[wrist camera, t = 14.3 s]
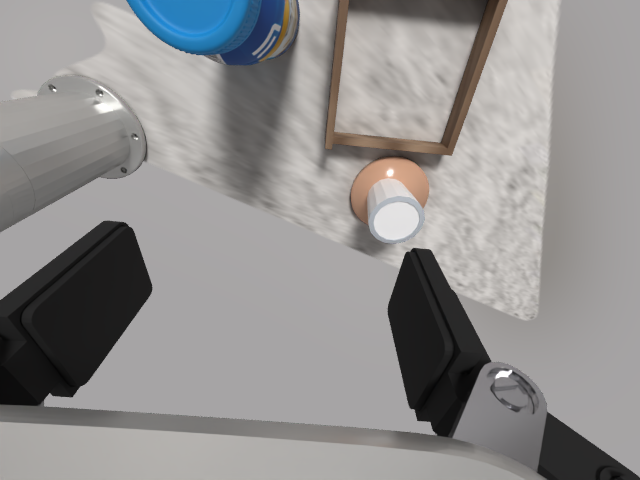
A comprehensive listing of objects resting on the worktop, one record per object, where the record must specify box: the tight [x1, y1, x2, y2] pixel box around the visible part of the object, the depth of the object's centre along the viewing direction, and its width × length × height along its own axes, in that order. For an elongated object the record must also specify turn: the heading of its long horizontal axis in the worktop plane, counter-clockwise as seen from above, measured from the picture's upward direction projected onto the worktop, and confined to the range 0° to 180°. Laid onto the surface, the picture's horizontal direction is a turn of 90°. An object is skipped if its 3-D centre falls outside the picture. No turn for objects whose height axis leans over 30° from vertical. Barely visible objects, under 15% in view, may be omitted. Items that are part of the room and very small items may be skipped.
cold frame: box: [325, 0, 508, 156], centre depth 30 cm, size 16×16×5 cm
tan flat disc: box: [351, 156, 429, 225], centre depth 41 cm, size 11×11×1 cm
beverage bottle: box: [127, 0, 300, 65], centre depth 21 cm, size 8×8×20 cm
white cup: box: [367, 178, 425, 244], centre depth 37 cm, size 7×7×7 cm
